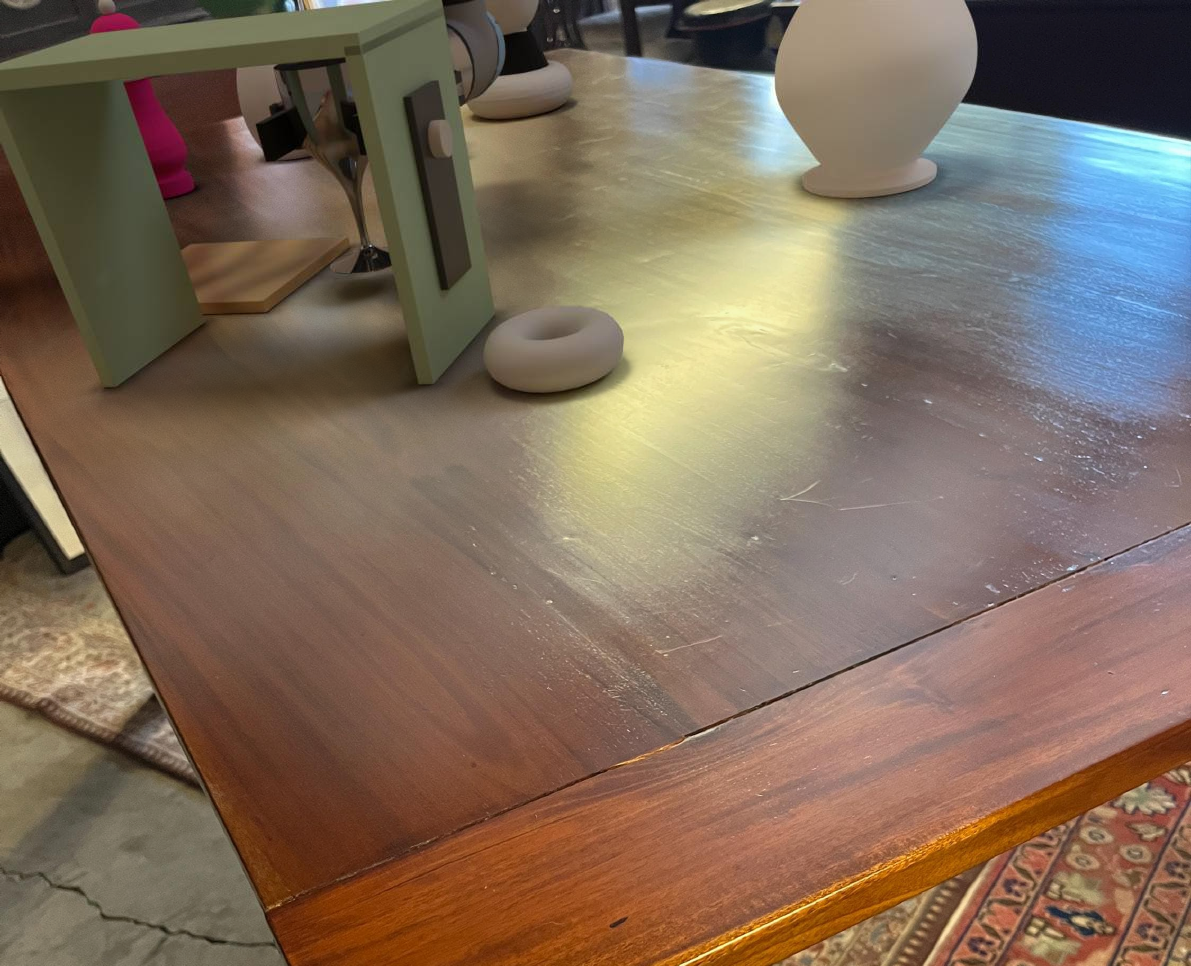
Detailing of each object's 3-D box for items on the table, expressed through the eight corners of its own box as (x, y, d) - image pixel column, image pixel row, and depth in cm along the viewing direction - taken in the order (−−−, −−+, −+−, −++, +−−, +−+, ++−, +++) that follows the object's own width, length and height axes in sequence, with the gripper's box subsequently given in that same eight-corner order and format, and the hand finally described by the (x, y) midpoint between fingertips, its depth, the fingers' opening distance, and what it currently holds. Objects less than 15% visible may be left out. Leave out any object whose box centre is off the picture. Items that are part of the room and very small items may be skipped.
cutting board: (94, 317, 101) (89, 306, 100) (194, 254, 113) (191, 243, 113) (266, 312, 96) (262, 300, 95) (350, 246, 109) (348, 236, 108)
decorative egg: (359, 137, 149) (329, 2, 139) (327, 160, 140) (293, 18, 130) (276, 144, 151) (241, 13, 141) (240, 168, 143) (200, 29, 133)
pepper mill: (175, 200, 133) (107, -1, 120) (128, 201, 135) (57, 5, 122) (210, 183, 138) (149, -12, 124) (164, 185, 140) (99, -6, 127)
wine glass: (412, 240, 100) (371, 44, 90) (416, 265, 94) (372, 58, 84) (326, 255, 100) (275, 60, 90) (324, 281, 94) (269, 75, 84)
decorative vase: (812, 218, 98) (818, -148, 81) (751, 174, 111) (746, -147, 95) (999, 183, 99) (1043, -183, 83) (917, 144, 113) (941, -178, 96)
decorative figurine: (586, 93, 153) (567, -89, 140) (560, 118, 143) (537, -76, 130) (486, 102, 157) (458, -75, 144) (453, 126, 147) (421, -61, 133)
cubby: (103, 387, 87) (-30, 72, 72) (193, 322, 96) (92, 33, 82) (452, 384, 79) (380, 29, 64) (512, 313, 88) (461, -8, 74)
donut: (469, 371, 81) (517, 413, 73) (460, 323, 78) (508, 361, 71) (592, 337, 83) (650, 374, 76) (587, 289, 81) (646, 322, 73)
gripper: (529, 116, 102) (442, 184, 86) (331, 131, 108) (215, 198, 92) (516, 19, 97) (421, 72, 81) (309, 40, 103) (182, 94, 87)
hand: (312, 139), depth 86 cm, fingers closed on wine glass, 8 cm apart
